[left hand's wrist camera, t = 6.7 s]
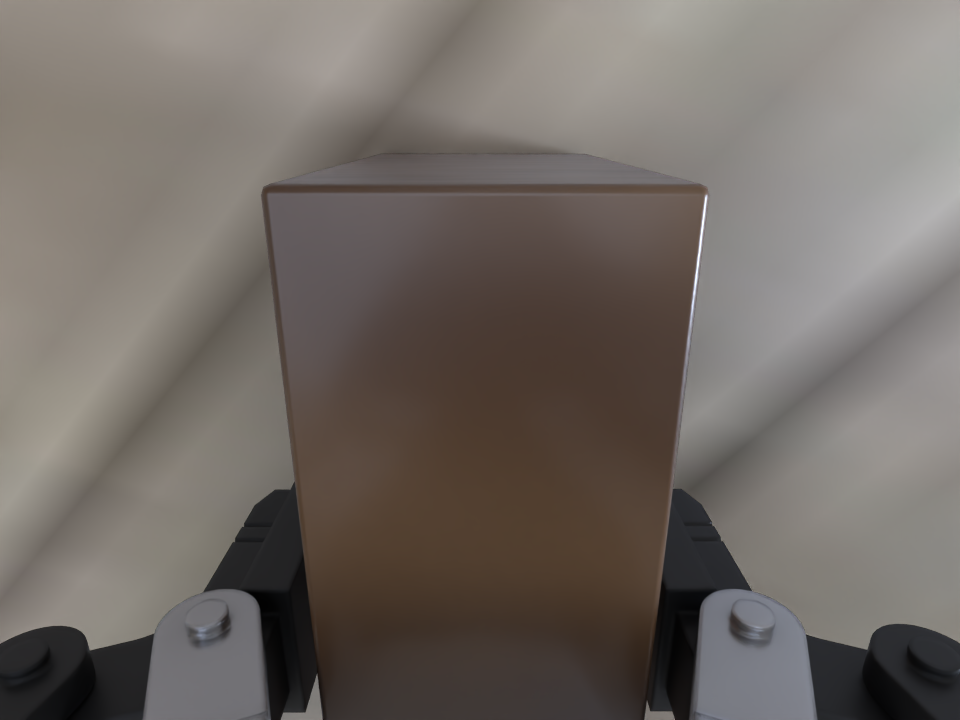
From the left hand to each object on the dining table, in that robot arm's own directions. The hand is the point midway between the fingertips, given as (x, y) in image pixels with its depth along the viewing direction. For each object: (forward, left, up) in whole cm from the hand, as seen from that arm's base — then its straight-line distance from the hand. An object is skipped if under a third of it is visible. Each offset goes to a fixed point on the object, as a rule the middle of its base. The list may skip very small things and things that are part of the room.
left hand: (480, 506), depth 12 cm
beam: (+7, +21, -2) cm, 22 cm away
